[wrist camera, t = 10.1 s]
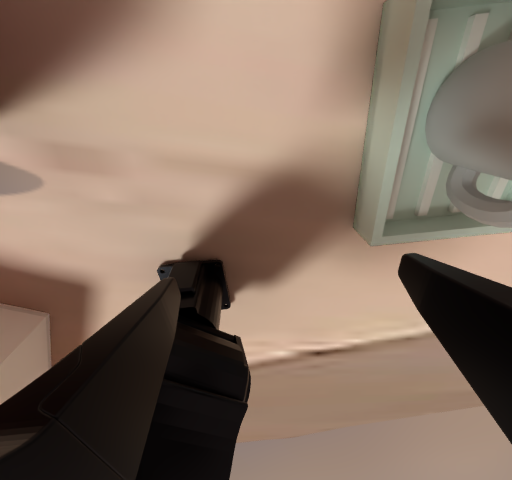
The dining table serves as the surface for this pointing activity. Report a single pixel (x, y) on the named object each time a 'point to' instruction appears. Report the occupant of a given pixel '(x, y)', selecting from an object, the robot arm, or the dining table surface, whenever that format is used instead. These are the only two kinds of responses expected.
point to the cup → (475, 131)
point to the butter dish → (22, 348)
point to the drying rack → (420, 120)
